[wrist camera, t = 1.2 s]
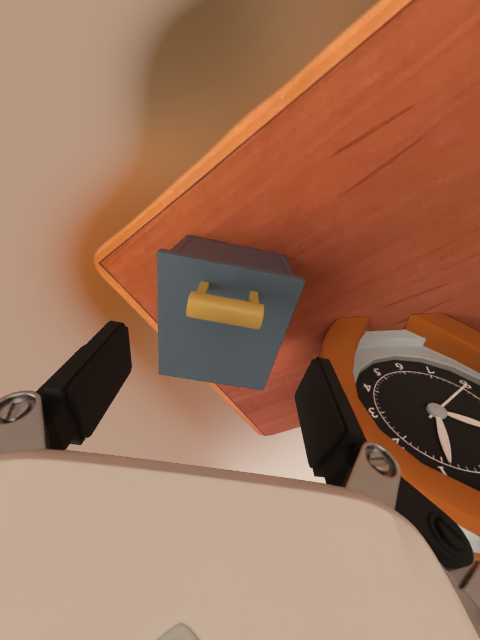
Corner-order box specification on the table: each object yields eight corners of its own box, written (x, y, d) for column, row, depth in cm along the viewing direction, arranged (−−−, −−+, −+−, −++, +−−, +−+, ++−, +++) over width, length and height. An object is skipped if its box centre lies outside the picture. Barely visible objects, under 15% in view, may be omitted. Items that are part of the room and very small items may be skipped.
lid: (160, 248, 17) (131, 271, 13) (303, 277, 18) (320, 307, 14) (161, 369, 24) (142, 409, 20) (262, 385, 25) (266, 426, 21)
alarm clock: (477, 311, 29) (916, 566, 10) (444, 365, 34) (690, 597, 15) (307, 319, 30) (408, 554, 11) (302, 369, 36) (363, 586, 17)
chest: (186, 234, 25) (160, 258, 17) (285, 255, 26) (300, 285, 18) (181, 324, 32) (161, 368, 24) (259, 337, 32) (262, 384, 25)
